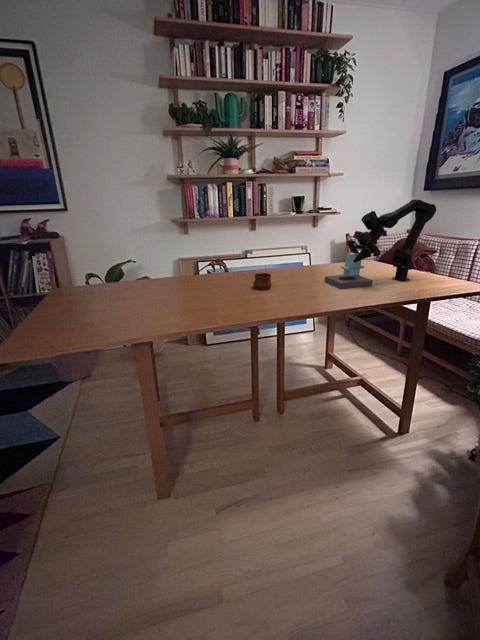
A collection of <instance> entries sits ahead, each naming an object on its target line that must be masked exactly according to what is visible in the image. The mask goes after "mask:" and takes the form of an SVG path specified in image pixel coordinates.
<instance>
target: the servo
mask: <svg viewBox="0 0 480 640" xmlns="http://www.w3.org/2000/svg"><path fill="white" fill-rule="evenodd" d="M359 253H360V252H359ZM359 253H350V252H349V254H348V253H346V255H345V261H344V262H345V263H344V265H343V266H340V269H342V270H343V274H342V275H345V276H346V275H348V276H353V275H359V276H360V274H359V273H361V269H365V266H364V265H362V260H360V261H358V262H356V263H354V262H353V261H354V260H355V258H356V257H357V256H358V254H359Z"/></svg>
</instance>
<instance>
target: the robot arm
mask: <svg viewBox="0 0 480 640" xmlns="http://www.w3.org/2000/svg"><path fill="white" fill-rule="evenodd" d="M412 212H415V213H414V219H415V220H414V222H413V225H412V226H411V228H410V230H409V232H408V235H407V237H406V238H405V241H404V243H403V245H402V246H401V248H396V249H395V251H394V252H393V255H392V258H391V260H392V266H393V267H394V268H396V269H395V275H394V277H392V278H391V279H392V280H396V281H400V282H405V281H410V278H408V274H409V271H411V270H413V269H414V268H415V264H414V262H413V261H412V259H413V249H414V247H415V245H416V244H417V241H418V239H419V237H420V236H421V233H422V231H423V229H424V228H425V225H426V224H427V223H428V222H429V221H430V220H431V219H433V217H434V215H435V214H436V212H437V207H436V205H435V204H434V203H429V202H426V201H423V200H421V199H411V200H409V202H407V203H406V204H404V205H402V206H401V207H399V208H397V209H395V210H394V211H392V212H386V213H385V214H382V215H380V216H378V215H377V213H376V211H375V210H371V211H370V212H368V213H366V214H365V215H363V216H362V218H361V219H360V220H361V222H362V224H363V225H364V227H365V228H366V230H368V231H366V230H365V231H359V230H358V231H357V230H356V231H354V233H353V235H352V238H353V239H356V240H352V239H348V241H346V245H347V246H348V249H350V252H349V253H359V254H358V256H357V257H356V258H355V260H354V261H353V262H354V263H356V262H358V261H360V260H361V261H362V260H365V259H368V258H371V257H372V256H373V257H376V258H379V256H380V255H381V250H380V248H379V247H378V245H377V244H378V241H379V240H380V238H382V236H383V237H387V236H388V233H387V231H388V230H386V229H392V228H393V227H395V226H396V225H397V224H399V223H398V222H399V221H400V220H401V219H403V218H405V216H407V215H410V214H412ZM359 250H360V252H359Z"/></svg>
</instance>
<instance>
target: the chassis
mask: <svg viewBox="0 0 480 640" xmlns="http://www.w3.org/2000/svg"><path fill="white" fill-rule="evenodd" d="M373 281H374V280H373V279H369V278H367V277H364V276H361V275H360V274H359V275H353V276H348V275H346V276H345V275H343V274H340V275H326V276H324V281H323V282H324V283H325V284H328V285H330V286H332V287H334V288H336V289H339V290H347V289H359V288H369V287H371V288H372V286H373Z"/></svg>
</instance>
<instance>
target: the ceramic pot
mask: <svg viewBox="0 0 480 640" xmlns="http://www.w3.org/2000/svg"><path fill="white" fill-rule="evenodd" d="M271 277H272V274H270V273H267V272H260V273H257V272H256V273H255V274H254V279H255V280H254V281H253V284H252V285H253V288H254V290H257V291H269V290H271V288H272V285H274V283H273V284H272V281H271Z"/></svg>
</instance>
